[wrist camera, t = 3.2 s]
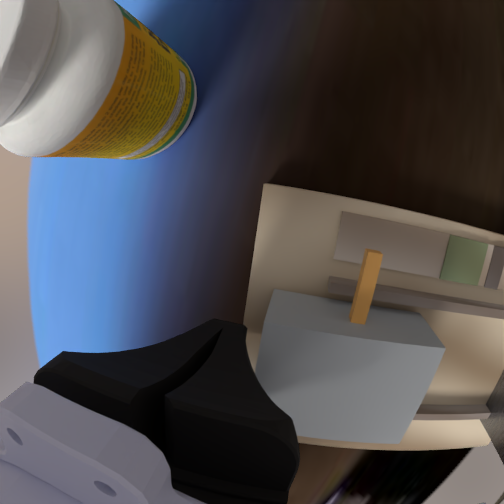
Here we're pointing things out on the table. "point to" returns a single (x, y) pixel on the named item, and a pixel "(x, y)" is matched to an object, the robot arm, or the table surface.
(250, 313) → the gauge board
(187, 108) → the supplement bottle
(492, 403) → the grey slanted slab
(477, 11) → the table surface
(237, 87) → the table surface
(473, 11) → the table surface
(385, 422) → the block
